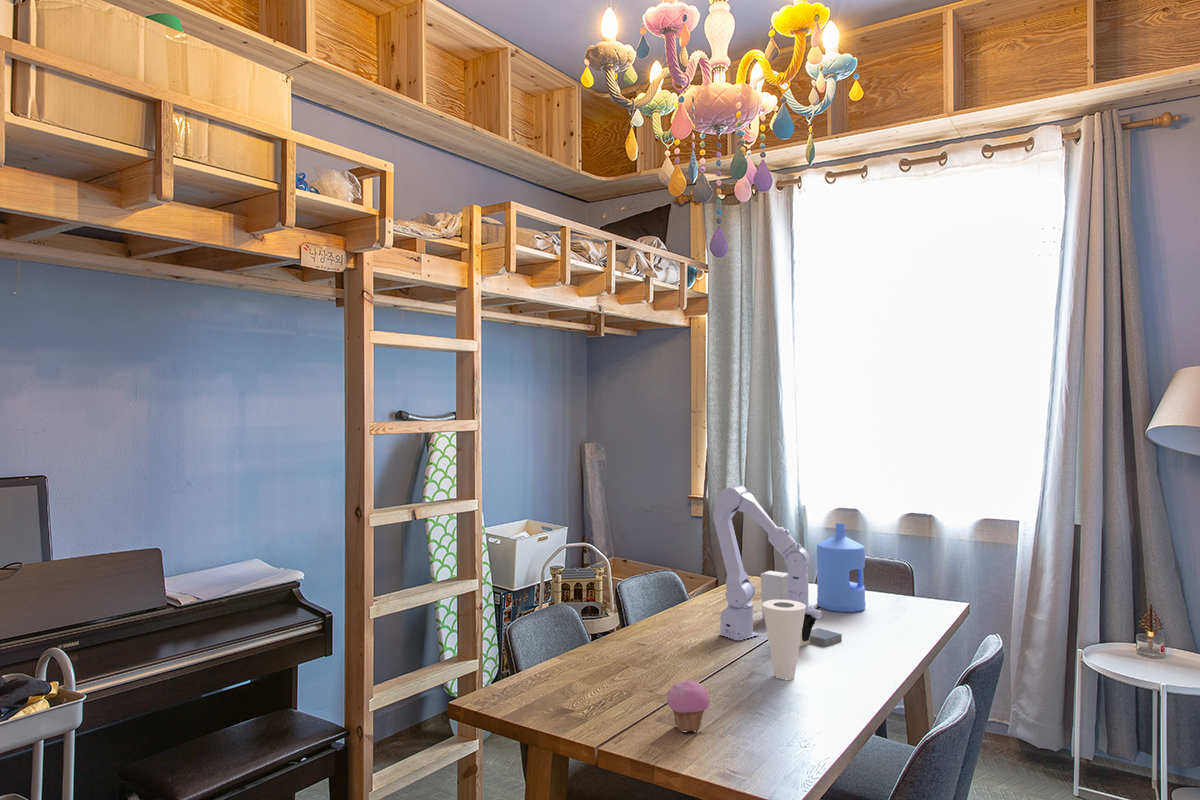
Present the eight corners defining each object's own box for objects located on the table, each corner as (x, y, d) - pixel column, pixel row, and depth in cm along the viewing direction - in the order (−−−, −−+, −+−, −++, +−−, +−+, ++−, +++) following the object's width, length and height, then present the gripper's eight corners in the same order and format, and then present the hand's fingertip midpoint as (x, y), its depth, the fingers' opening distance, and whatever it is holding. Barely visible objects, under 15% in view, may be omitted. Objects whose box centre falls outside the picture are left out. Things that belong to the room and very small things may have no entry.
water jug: (816, 611, 249) (816, 526, 250) (817, 599, 264) (816, 520, 265) (866, 614, 245) (865, 528, 245) (864, 602, 260) (863, 521, 260)
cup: (775, 686, 182) (775, 612, 182) (755, 671, 192) (754, 601, 192) (814, 682, 184) (814, 608, 185) (792, 667, 195) (792, 598, 195)
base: (825, 646, 212) (825, 639, 212) (801, 639, 218) (801, 632, 218) (841, 641, 217) (841, 634, 217) (818, 634, 223) (818, 627, 223)
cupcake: (705, 721, 162) (705, 674, 162) (712, 738, 153) (712, 689, 153) (664, 721, 161) (664, 675, 162) (669, 739, 153) (669, 690, 153)
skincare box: (793, 620, 239) (793, 573, 239) (783, 624, 235) (782, 576, 235) (771, 615, 245) (770, 569, 245) (760, 618, 241) (760, 572, 241)
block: (800, 646, 212) (799, 629, 212) (787, 643, 215) (786, 625, 216) (809, 643, 215) (809, 626, 215) (796, 640, 218) (796, 622, 218)
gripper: (768, 588, 219) (769, 635, 218) (810, 597, 207) (811, 647, 207) (784, 584, 223) (784, 630, 223) (826, 594, 212) (826, 642, 211)
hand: (798, 638), depth 215 cm, fingers closed on block, 4 cm apart
